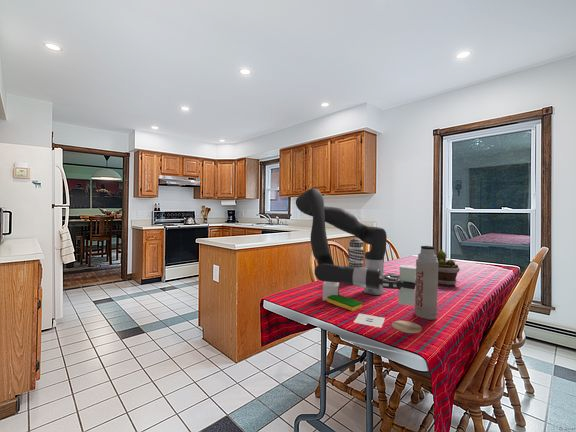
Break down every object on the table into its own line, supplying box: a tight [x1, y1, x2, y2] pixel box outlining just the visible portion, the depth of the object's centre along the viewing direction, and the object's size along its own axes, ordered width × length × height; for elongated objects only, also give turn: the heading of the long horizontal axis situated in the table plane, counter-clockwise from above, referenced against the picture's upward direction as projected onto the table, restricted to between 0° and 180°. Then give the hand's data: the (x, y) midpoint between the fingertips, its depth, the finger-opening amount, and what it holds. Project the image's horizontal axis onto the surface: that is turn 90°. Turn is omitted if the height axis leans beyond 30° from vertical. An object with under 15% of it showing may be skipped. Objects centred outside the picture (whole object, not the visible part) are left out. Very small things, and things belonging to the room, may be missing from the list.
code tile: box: [353, 312, 386, 328], centre depth 108 cm, size 10×10×1 cm
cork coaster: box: [391, 320, 423, 334], centre depth 102 cm, size 10×10×1 cm
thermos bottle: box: [414, 245, 439, 320], centre depth 113 cm, size 8×8×28 cm
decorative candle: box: [347, 237, 365, 267], centre depth 164 cm, size 9×9×25 cm
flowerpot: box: [435, 249, 460, 287], centre depth 161 cm, size 14×15×20 cm
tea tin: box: [398, 264, 416, 307], centre depth 102 cm, size 5×5×13 cm
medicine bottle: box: [322, 281, 340, 302], centre depth 133 cm, size 7×7×12 cm
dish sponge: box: [326, 294, 363, 312], centre depth 125 cm, size 7×14×2 cm, turn 43°
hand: (415, 284), depth 100 cm, fingers closed on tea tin, 5 cm apart
